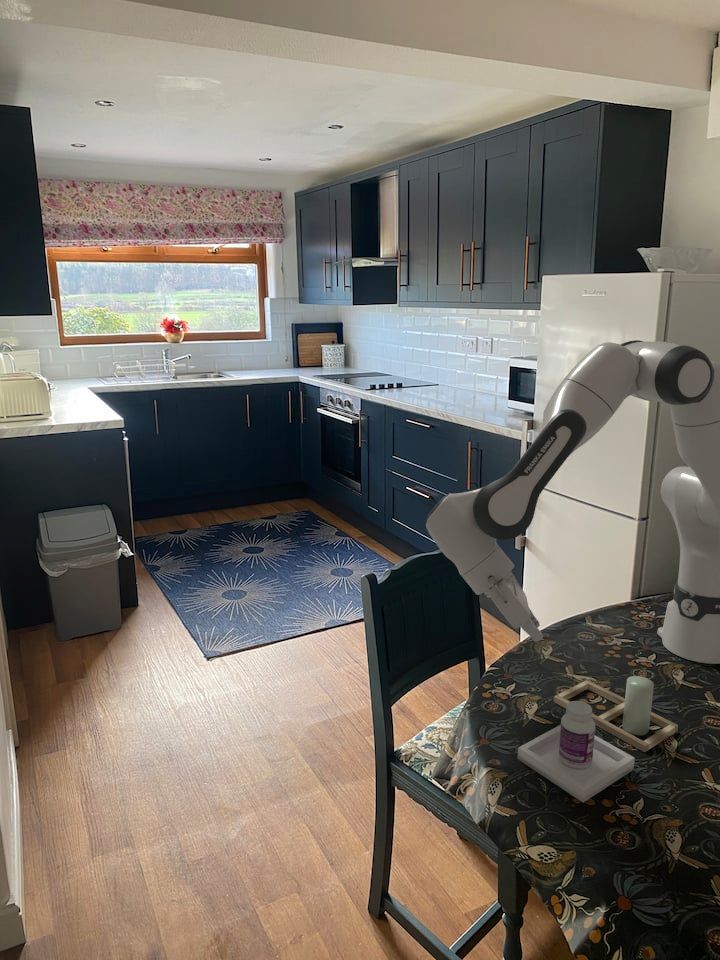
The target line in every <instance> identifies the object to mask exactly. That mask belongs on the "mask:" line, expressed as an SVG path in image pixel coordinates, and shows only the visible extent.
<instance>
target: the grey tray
mask: <svg viewBox="0 0 720 960" xmlns="http://www.w3.org/2000/svg"><path fill="white" fill-rule="evenodd" d="M560 731H561V724H558V725H557V726H556V727H554V728H551V729H550V730H548V731H546V732H545V733H543V734H541V735H539V736H537V737H535V738H534V739H532V740H530V741H528V742H526V743H524V744H522V745H521V746H519V747H518V749H517V760H518V761H520V762H521V763H522V764H524V765H525V766H527V767H529V768H530V769H532V770H533V771H535V772H536V773H538V774H539V775H541V776H542V777H543V778H545V779H547V780H548V781H550V782H551V783H553V784H554V785H556V786H558V788H560V789H561V790H563V791H565V792H567V793H568V794H569V795H570V796H573V798H576V799H577V800H579V801H580V802H582V803H583V804H584V803H585V802H586V801H588V800H590V799H591V798H592V797H594V796H596V795H597V794H599V793H600V792H602V791H603V790H605V789H606V788H607V787H609V786H611V785H613V784H615V782H617V781H619V780H620V779H622V778H623V777H624V776H626V775H628V774H629V773H630V772H632V771H634V769H635V768H634V767H635V759H636V758H635V756H632V755H631V754H629V753H628V752H626V751H623V750H622V749H620V748H618V747H616V746H614V745H613V744H611V743H609V742H608V741H606V740H604V739H602V738H601V737H599V736H597V735H595V737H594V748H593V758H592V763H591V764H590V765H589V766H588V767H586V768H583V769H576V768H572V767H569V766H567V765H565V764H564V763H563V762H562V761H561V760H560V758H559V745H560Z"/></svg>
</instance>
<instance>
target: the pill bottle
mask: <svg viewBox="0 0 720 960" xmlns="http://www.w3.org/2000/svg"><path fill="white" fill-rule="evenodd" d="M592 714H593V707H592V706H591V705H590V704H588V703H587V702H584V701H580V700H573V701H570V702H569V703H568V704H567V707H566V709H565V713H564V715H562V716H561V720H560V725H561V731H560V745H559V758H560V760H561V761H562V762H563V763H564V764H565V765H567V766H569V767H572V768H576V769H583V768H586V767H588V766H589V765H590V764H591V763H592V758H593V748H594V737H595V736H596V735H595V734H596V725H595V722H594V720H593V719H592V718H591V717H592Z"/></svg>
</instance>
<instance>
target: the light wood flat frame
mask: <svg viewBox="0 0 720 960" xmlns="http://www.w3.org/2000/svg"><path fill="white" fill-rule="evenodd" d="M584 690H585V691H587V690H588V691H591V692H593V693H595V694H596V695H599V696H601V697H602V698H605V699H606V700H607V701H608V700H609V701H610V702H612V703H614V704H617V705H616V706H615V707H613V708H611V709H609V710H608V711H606V712H603V713H602V714H600V715H596V714H594V713H592V717H591V718H592V719H593V720H594V722H595V727H598V728H600V729H602V730H603V731H606V733H609V734H611V735H613V736H614V737H616V738H618V739H619V740H622V741H623V742H625V743H626V744H629V745H631V746H633V747H635V748H636V749H638V750H640V751H641V752H644V753H647V751H650V750H651V749H652V748H654V747H656V746H657V745H659V744H661V742H663V741H665V740H667V739H668V738H669V737H671V736H672V735H675V733H678V729H679V724H676V723H675V722H672V721H671V720H669V719H666V718H664V717H662V716H660V715H658V714H656V713H655V712H653V711H651V716H650V722H652V723H654V724H656V725H657V726H659V727H661V728H662V729H660V730H658V731H657V732H656V733H654V734H653V735H650V736H649V737H648V738H646V739H645V740H643V739H640V738H638V736H637V737H636V735H634V734H631V733H628V732H627V731H625V730H624V729H623V728H620V727H619V726H616V725H614V724H613V723H611V722H610V721H612V720H614V719H615V718H616V719H617V717H619V716H621V715H623V714H624V704H625V697H623V696H621V695H619V694H617V693H614V691H613V692H612V691H610V690H609V689H606V688H605V687H602V686H601V685H599V684H596V683H594V682H592V681H591V680H589V679H586V680H584V681H582V682H580V683H577V685H573V686H572V687H570V688H568V689H566V690H564V691H562V692H560V693H558V694H556V695H554V696H553V702H554V704H556V705H559V706H560V707H562V708H563V709H565V710H566V707H567V704H568V703H569V702H571V701H570V699H571V698H574V697H576V696H578V695H579V694H581V693H583V692H585V691H584Z"/></svg>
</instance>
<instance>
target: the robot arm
mask: <svg viewBox="0 0 720 960" xmlns="http://www.w3.org/2000/svg"><path fill="white" fill-rule="evenodd" d="M630 396H632V397H634V398H637V399H640V400H643V401H648V402H657V403H666V404H668V405H669V408H670V416H671V423H672V427H673V432H674V437H675V438H674V439H675V443H676V449H677V453H678V455H679V457H680V458H681V460H682V461H683V462H684V463H685V464H686V465H687V466H677V467H675V468H673V469H671V470H670V471H669V472H668V473H667V474H666V475H665V477H664V478H663V480H662V482H661V486H660V497H661V500H662V502H663V504H664V505H665V506H666V507H667V509H668V510H669V512H670V514H671V517H672V519H673V521H674V524H675V527H676V532H677V536H678V541H679V542H678V543H679V551H680V555H679V566H678V567H679V568H678V577H677V581H675V584H674V588H673V599H672V600H670V601H668V603H667V606H666V611H665V616H664V621H663V626H661V627H658V628H657V632H656V633H657V635H658V636H659V637H660V638H661V640H662V641H661V642H662V645H663V646H664V648H665V649H667V650H668V651H669V652H671V653H672V654H674V655H676V656H679V657H681V658H683V659H686V660H689V661H693V662H697V663H703V664H712V665H713V664H714V665H715V664H716V665H717V664H719V665H720V364H719V363H718V362H716V361H715V360H712V359H709V356H707V355H706V353H704V352H703V351H702V350H699V349H698V348H695V347H692V346H690V345H683V344H677V343H673V342H669V341H661V340H658V341H643V340H636V339H635V340H629V341H625V342H622V343H621V344H619V343H616V342H603V343H600V344H598V345H597V346H595V347H594V348H592V350H590V351H589V352H588V353H587V354H585V356H584V357H582V359H580V361H578V362H577V364H575V366H574V367H573V368H572V369H571V370H570V371H569V372H568V373H567V375H566V376H565V377H564V378H563V379H562V380H561V382H560V384H559V385H558V386H557V387H556V389H555V390H554V391H553V393H552V395H551V396H550V399H549V400H548V402H547V403H546V406H545V407H544V410H543V414H542V415H543V417H542V423H541V424H542V425H541V428H540V430H539V431H538V434H537V436H536V437H535V439H534V440H533V442H532V443H531V445H530V446H529V447H528V448H527V450H526V451H525V452H524V453H523V454H522V456H521V457H520V458H519V460H518V461H517V462H516V464H515V465H514V466H513V467H512V469H511V470H509V471H508V473H506V474H505V475H504V476H502V477H500V478H499V479H497V480H494V481H493V482H490V483H488V485H485V486H483V487H480V488H477V489H473V490H469V491H464V492H458V493H449V492H448V493H447V494H445V495H444V496H443V497H441V499H439V501H438V502H437V503H436V504H435V506H433V508H432V509H431V510H430V511H429V512H428V514H427V516H426V519H425V520H426V521H425V527H426V529H427V532H428V534H429V535H430V537H431V538H432V539H433V541H434V543H435V544H436V546H437V547H438V548H439V549H440V551H441V552H442V554H443V555H444V556H445V558H447V559H449V560H450V561H451V562H452V563H453V564H454V565H455V567H456V568H457V570H458V573H459V575H460V576H461V577H462V579H464V581H465V582H466V583H467V585H469V587H470V588H471V589H472V591H473V592H474V593H475V595H477V596H479V595H481V594H484V595H485V596H486V597H487V599H491V600H492V602H493V603H494V605H495V606H496V608H497V609H498V610H499V612H500V613H501V614H502V615H503V617H504V618H505V620H507V622H508V623H509V624H510V626H511V627H513V628H514V629H519V628H521V629H522V630H523V631H524V633H526V634H527V635H529V637H530V638H531V639H532V640H533V641H534V643H538V642H540V641H541V640H542V639H543V638H544V635H543V633H542V631H540V629H539V627H540V621H539V620H538V619H537V617H536V616H535V615H534V613H533V611H532V610H531V609H530V606H529V602H528V599H527V597H528V596H527V595H526V593H525V591H524V590H523V588H522V586H521V584H519V582H518V580H517V578H516V577H515V575H514V574H513V572H512V570H513V569H514V568H515V564H514V562H513V561H512V560H511V559H510V558H509V557H508V555H507V554H506V553H505V552H504V551H503V549H502V548H501V547H500V546H499V544H498V543H497V540H501V541H502V540H505V541H506V540H512V539H515V538H517V537H519V536H521V535H522V534H524V533H525V532H526V531H527V529H528V528H529V527H530V526H531V524H532V522H533V519H534V517H535V512H536V508H537V504H538V500H539V498H540V495H541V493H543V491H544V489H545V488H546V487H547V485H548V484H549V483H550V481H551V480H552V479H553V477H554V476H555V475H556V474H557V472H558V471H559V469H561V467H562V466H563V464H564V463H565V462H566V460H567V459H568V458H569V457H570V455H572V454H573V453H574V452H575V451H577V450H578V449H579V448H580V447H582V446H583V445H585V444H586V443H587V442H588V441H590V439H592V438H594V436H595V435H596V434H597V433H599V432H600V430H601V429H602V428H603V427H605V425H606V424H607V423H608V422H609V421H610V419H612V417H613V416H614V415H615V413H616V412H617V411H618V409H619V408H620V406H621V405H622V404H623V402H624V400H625V399H627V398H628V397H630Z"/></svg>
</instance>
